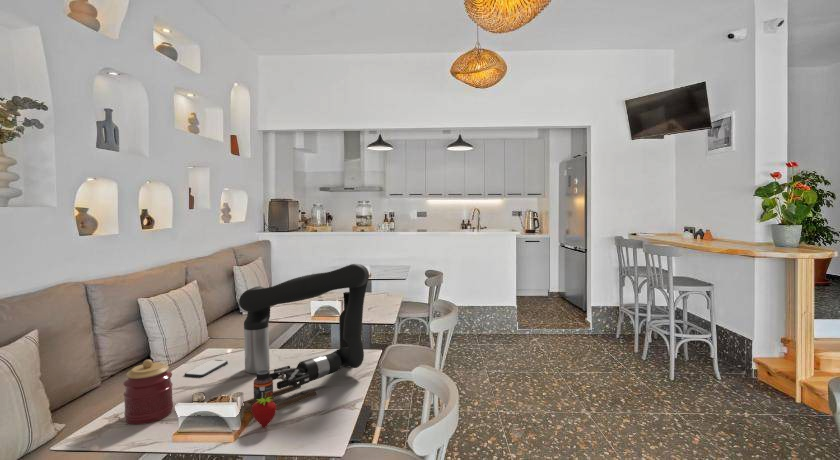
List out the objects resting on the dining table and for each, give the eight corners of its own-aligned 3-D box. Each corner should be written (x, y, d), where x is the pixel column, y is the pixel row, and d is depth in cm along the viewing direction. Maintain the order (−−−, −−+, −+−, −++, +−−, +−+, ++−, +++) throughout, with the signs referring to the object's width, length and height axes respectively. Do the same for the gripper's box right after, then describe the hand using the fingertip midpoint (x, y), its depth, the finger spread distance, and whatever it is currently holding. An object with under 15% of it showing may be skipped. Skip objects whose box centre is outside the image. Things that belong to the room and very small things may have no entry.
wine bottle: (344, 361, 179) (343, 291, 178) (357, 362, 178) (355, 291, 177) (339, 366, 174) (337, 293, 173) (352, 367, 173) (351, 294, 171)
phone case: (202, 379, 163) (229, 364, 179) (202, 375, 163) (229, 360, 179) (182, 377, 165) (211, 362, 181) (182, 373, 165) (210, 359, 181)
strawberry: (260, 420, 129) (259, 387, 129) (281, 423, 127) (280, 391, 126) (246, 429, 123) (246, 396, 123) (268, 433, 121) (267, 399, 121)
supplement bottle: (267, 411, 135) (266, 376, 135) (250, 409, 136) (249, 374, 136) (276, 402, 141) (276, 369, 140) (260, 401, 142) (259, 368, 142)
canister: (143, 405, 140) (141, 352, 139) (182, 405, 140) (180, 352, 139) (113, 425, 127) (111, 367, 126) (156, 425, 127) (154, 367, 126)
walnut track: (242, 405, 139) (242, 401, 139) (299, 386, 154) (299, 382, 154) (258, 416, 131) (258, 412, 131) (316, 394, 147) (316, 391, 147)
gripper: (302, 354, 157) (260, 366, 145) (324, 363, 147) (281, 376, 135) (303, 374, 157) (261, 387, 145) (325, 384, 147) (282, 399, 136)
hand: (271, 382), depth 140 cm, fingers open, 8 cm apart
